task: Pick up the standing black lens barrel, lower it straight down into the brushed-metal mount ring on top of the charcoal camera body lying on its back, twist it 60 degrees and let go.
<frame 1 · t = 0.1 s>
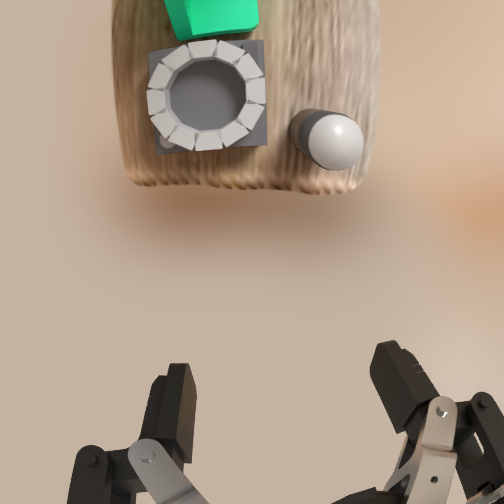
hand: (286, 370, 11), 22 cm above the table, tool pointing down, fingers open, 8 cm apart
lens: (312, 131, 26), on the table
camera body: (210, 95, 24), on the table
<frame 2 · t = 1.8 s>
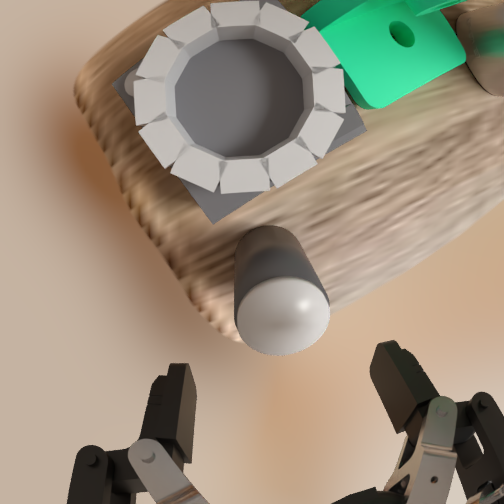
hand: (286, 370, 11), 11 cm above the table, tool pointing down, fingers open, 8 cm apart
camera mount: (383, 42, 14), on the table
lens: (268, 258, 20), on the table
camera body: (239, 103, 16), on the table
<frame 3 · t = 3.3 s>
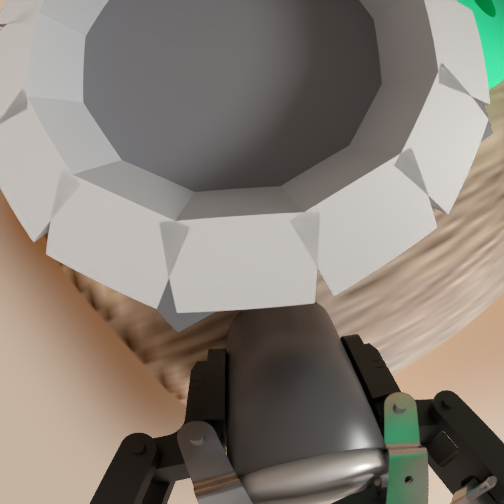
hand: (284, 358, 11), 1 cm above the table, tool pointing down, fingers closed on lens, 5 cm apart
camera mount: (447, 8, 6), on the table
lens: (280, 340, 12), on the table, touching gripper
camera body: (231, 77, 8), on the table
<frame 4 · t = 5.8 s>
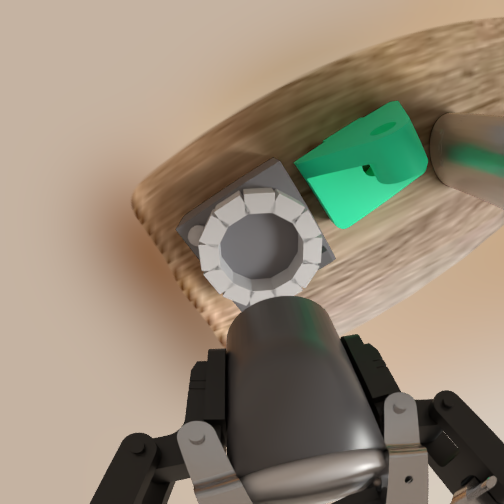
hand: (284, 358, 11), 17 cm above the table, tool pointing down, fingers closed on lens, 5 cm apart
camera mount: (359, 161, 25), on the table
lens: (280, 340, 12), point 16 cm above the table, touching gripper
camera body: (256, 228, 27), on the table
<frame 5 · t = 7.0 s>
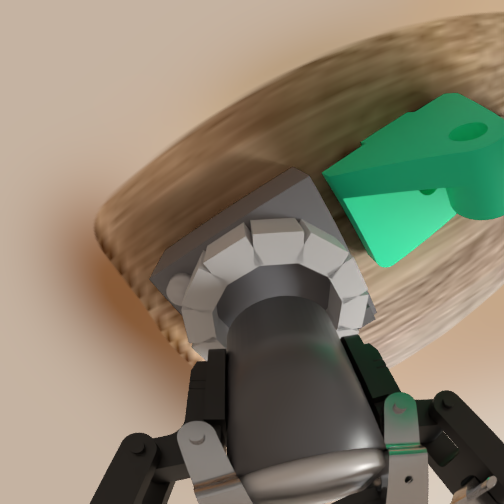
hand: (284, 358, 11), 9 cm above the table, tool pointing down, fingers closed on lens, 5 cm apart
camera mount: (405, 171, 17), on the table
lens: (280, 340, 12), point 7 cm above the table, touching gripper
camera body: (266, 268, 19), on the table
when the fingers open (7 cm above the table, at t = 8.2 s): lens drops 1 cm, resting on camera body.
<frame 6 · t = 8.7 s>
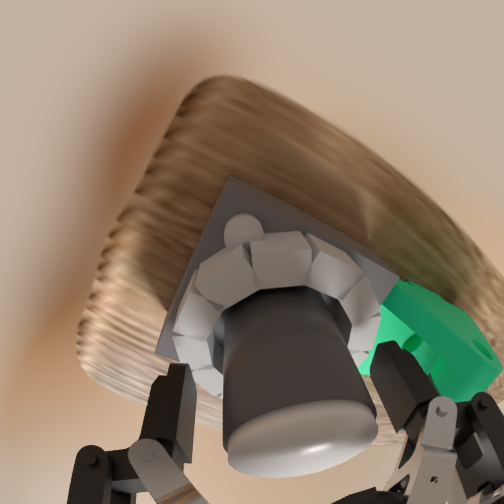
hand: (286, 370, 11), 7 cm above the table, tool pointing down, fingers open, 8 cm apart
camera mount: (397, 322, 20), on the table
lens: (275, 315, 13), point 4 cm above the table, touching camera body
camera body: (267, 282, 17), on the table
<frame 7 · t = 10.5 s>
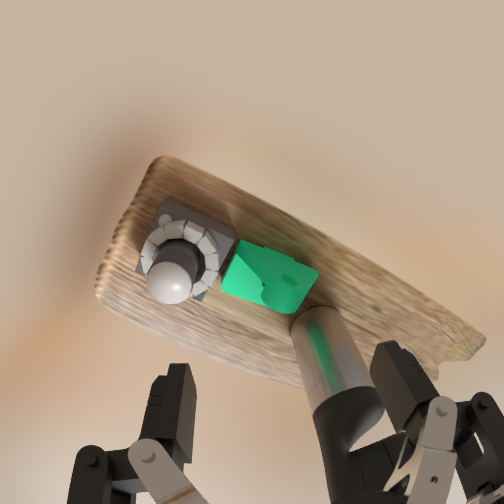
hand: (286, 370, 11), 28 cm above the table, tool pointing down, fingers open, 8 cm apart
camera mount: (267, 273, 41), on the table
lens: (180, 253, 34), point 4 cm above the table, touching camera body
camera body: (186, 244, 38), on the table
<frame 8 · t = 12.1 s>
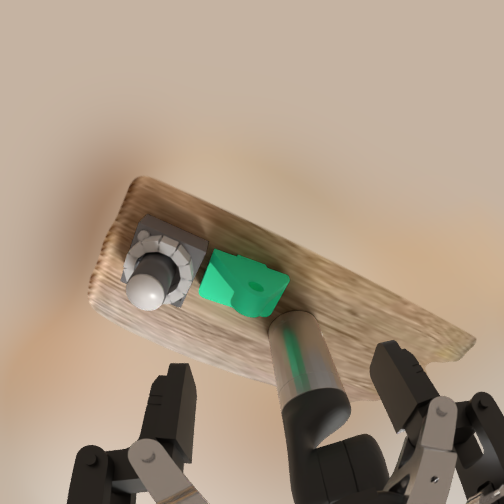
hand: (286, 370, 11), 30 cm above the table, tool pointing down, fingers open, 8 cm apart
camera mount: (242, 279, 43), on the table
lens: (159, 265, 37), point 4 cm above the table, touching camera body
camera body: (166, 255, 41), on the table
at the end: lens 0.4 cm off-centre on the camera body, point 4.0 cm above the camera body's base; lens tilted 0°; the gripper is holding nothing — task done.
